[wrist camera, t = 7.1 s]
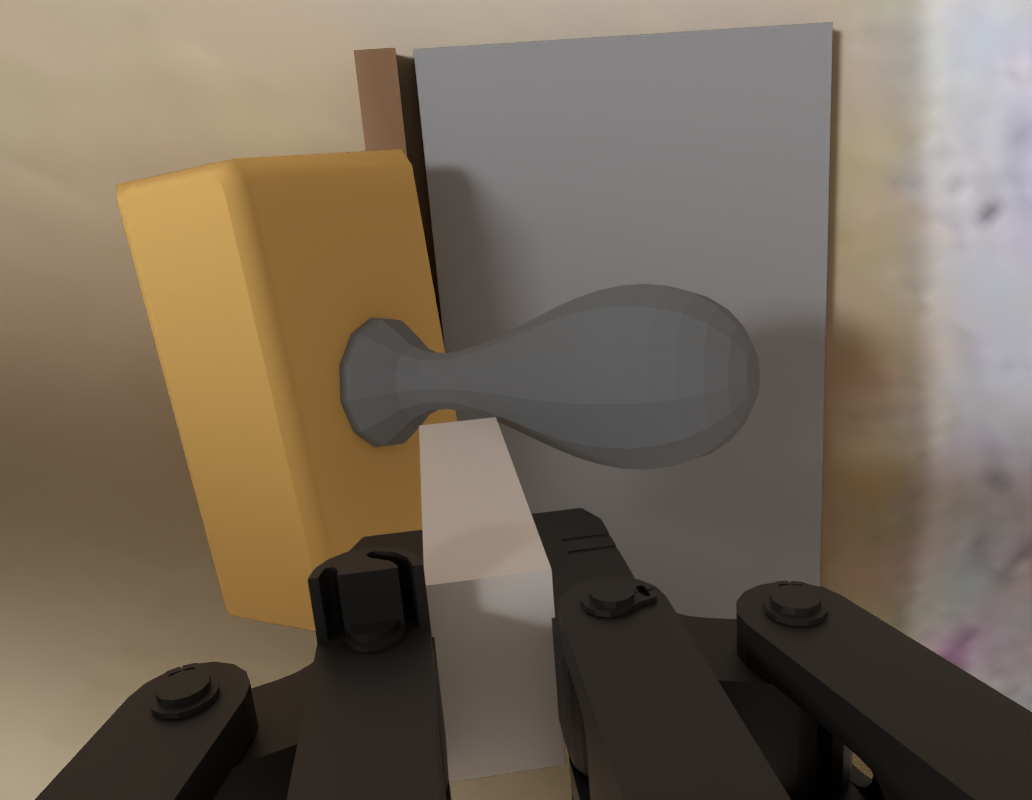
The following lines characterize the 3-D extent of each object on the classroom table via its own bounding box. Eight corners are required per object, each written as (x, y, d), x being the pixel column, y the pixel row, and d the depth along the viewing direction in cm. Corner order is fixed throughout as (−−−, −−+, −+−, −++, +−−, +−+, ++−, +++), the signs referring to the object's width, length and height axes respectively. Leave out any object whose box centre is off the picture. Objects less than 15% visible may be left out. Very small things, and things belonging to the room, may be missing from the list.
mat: (477, 667, 26) (478, 678, 25) (413, 52, 21) (413, 49, 20) (810, 619, 27) (819, 629, 26) (821, 26, 22) (832, 22, 21)
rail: (431, 673, 25) (432, 692, 24) (356, 56, 21) (353, 50, 20) (463, 669, 26) (465, 688, 25) (395, 53, 21) (395, 47, 20)
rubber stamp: (375, 520, 24) (805, 558, 18) (220, 622, 19) (737, 723, 13) (302, 169, 21) (772, 74, 15) (102, 186, 16) (673, 56, 10)
